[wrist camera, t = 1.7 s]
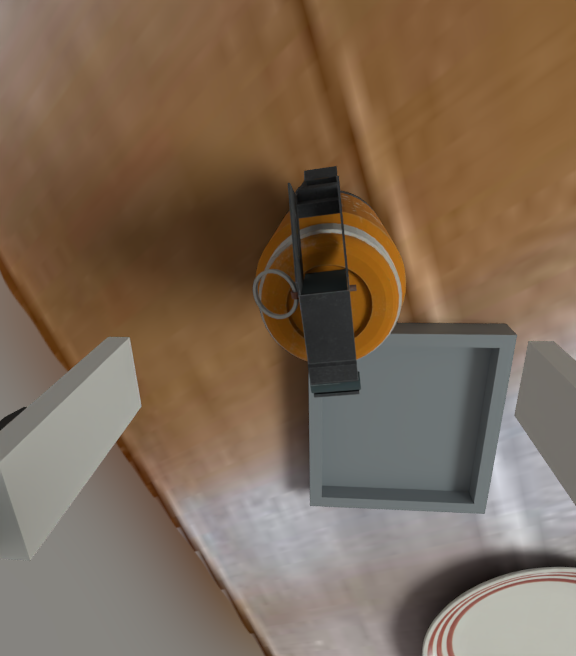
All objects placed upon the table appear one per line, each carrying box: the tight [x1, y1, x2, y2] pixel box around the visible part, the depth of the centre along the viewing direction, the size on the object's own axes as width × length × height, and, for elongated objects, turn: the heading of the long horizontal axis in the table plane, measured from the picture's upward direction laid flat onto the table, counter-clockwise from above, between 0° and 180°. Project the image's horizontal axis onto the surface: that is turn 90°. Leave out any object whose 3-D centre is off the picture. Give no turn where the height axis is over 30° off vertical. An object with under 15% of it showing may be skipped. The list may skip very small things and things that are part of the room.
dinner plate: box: [422, 567, 576, 656], centre depth 53 cm, size 28×27×3 cm
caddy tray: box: [309, 323, 517, 514], centre depth 43 cm, size 19×17×2 cm
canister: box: [253, 166, 406, 398], centre depth 29 cm, size 9×11×20 cm
